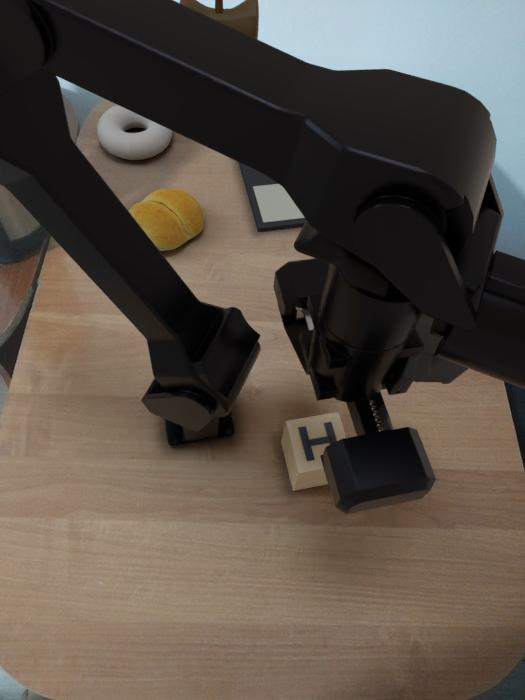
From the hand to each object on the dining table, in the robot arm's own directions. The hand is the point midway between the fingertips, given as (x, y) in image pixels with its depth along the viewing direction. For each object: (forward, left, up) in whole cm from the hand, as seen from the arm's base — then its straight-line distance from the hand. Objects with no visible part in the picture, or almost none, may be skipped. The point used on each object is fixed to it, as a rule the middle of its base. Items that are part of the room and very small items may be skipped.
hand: (326, 420), depth 46 cm
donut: (+49, +12, -9) cm, 51 cm away
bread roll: (+32, +10, -8) cm, 35 cm away
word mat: (+38, -9, -9) cm, 40 cm away
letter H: (0, 0, -9) cm, 9 cm away
